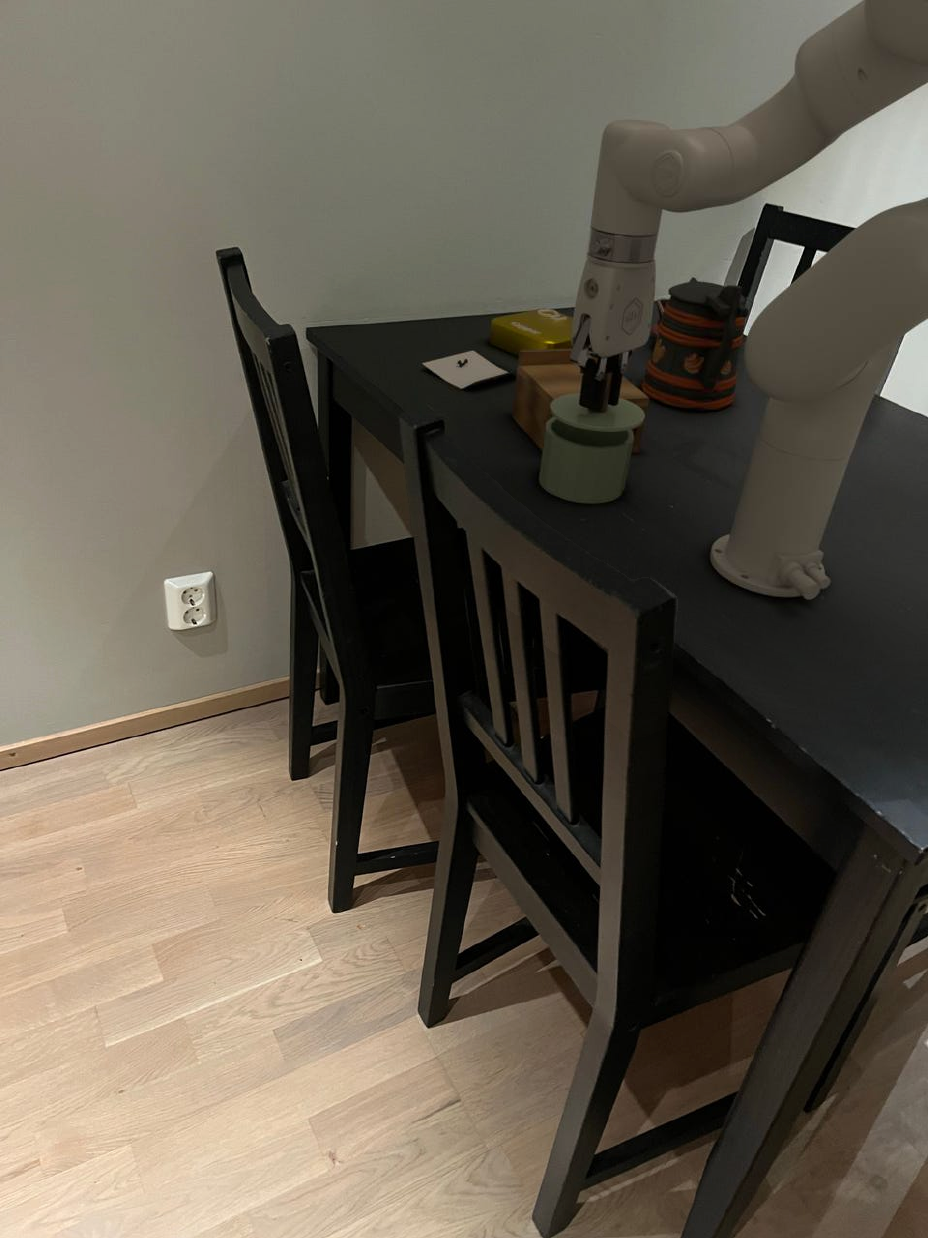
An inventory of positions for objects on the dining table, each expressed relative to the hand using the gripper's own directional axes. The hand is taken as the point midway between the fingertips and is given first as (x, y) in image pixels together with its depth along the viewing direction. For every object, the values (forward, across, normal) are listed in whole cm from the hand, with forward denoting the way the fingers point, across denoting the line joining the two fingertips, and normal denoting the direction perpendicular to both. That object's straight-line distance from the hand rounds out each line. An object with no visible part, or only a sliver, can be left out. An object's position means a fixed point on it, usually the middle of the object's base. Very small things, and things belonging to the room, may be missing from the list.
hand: (598, 404), depth 112 cm
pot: (+11, 0, +1) cm, 11 cm away
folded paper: (+10, +17, +36) cm, 42 cm away
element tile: (+10, +37, +38) cm, 54 cm away
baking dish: (+11, +59, +22) cm, 64 cm away
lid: (+1, 0, 0) cm, 1 cm away
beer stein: (+11, +38, +8) cm, 41 cm away
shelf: (+11, +12, +11) cm, 20 cm away
